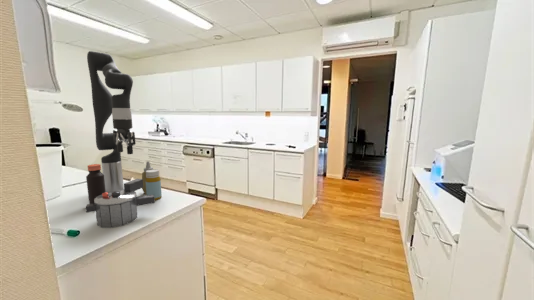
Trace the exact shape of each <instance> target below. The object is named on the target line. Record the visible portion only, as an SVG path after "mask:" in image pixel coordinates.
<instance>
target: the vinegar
mask: <svg viewBox="0 0 534 300" xmlns="http://www.w3.org/2000/svg"><path fill="white" fill-rule="evenodd" d="M101 170H102V164H101V163H95V164H93V163H92V164H89V165H87V172H88V174H87V175H86V176H85V177H86V179H85V180H86V186H87V197H88V204H92V203H94V199H95V198H96V197H97V196H99V195H102V193H104V192H106V189H105V180H104V174H103V172H101Z"/></svg>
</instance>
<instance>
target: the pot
mask: <svg viewBox="0 0 534 300" xmlns="http://www.w3.org/2000/svg"><path fill="white" fill-rule="evenodd" d="M155 203H156V200H154V195H147V194H146V195H141V196H136V198H135V199H133V200H131V201H129V202H126V203H122V204H117V205H110V206H100V205H96V204H95V203H92V204H89V203H87V204H86V205H85V212H86V213H92V212H93V213H94V212H95V216H96V225H97V227H99V228H102V229H113V228H118V227H123V226H125V225H129V224H131V223H133V222H135V221H136V220H137V219H138V206H146V205H150V204H155Z"/></svg>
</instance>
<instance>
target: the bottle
mask: <svg viewBox="0 0 534 300" xmlns="http://www.w3.org/2000/svg"><path fill="white" fill-rule="evenodd" d="M160 176H161V175H160V169H154V168H153V169H152V170H147V171H146V193H147V194H146V196H147V195H154V201H157V200H160V199H161V198H162V182H161V177H160Z"/></svg>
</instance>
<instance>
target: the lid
mask: <svg viewBox="0 0 534 300" xmlns="http://www.w3.org/2000/svg"><path fill="white" fill-rule="evenodd" d="M123 186H124V190H122V191H114V192H109V193H108V192H104V193H102V195H99V196H97V197H96V198H95V199H94V203H95V204H96V205H100V206H110V205H117V204H122V203H126V202H129V201H131V200H133V199H135V198H136V197H137V192H136V191H138V190H140V189H142V188H143V179H142V178H135V179H132V180H130V181H128V182H125V183H124V182H123Z"/></svg>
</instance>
